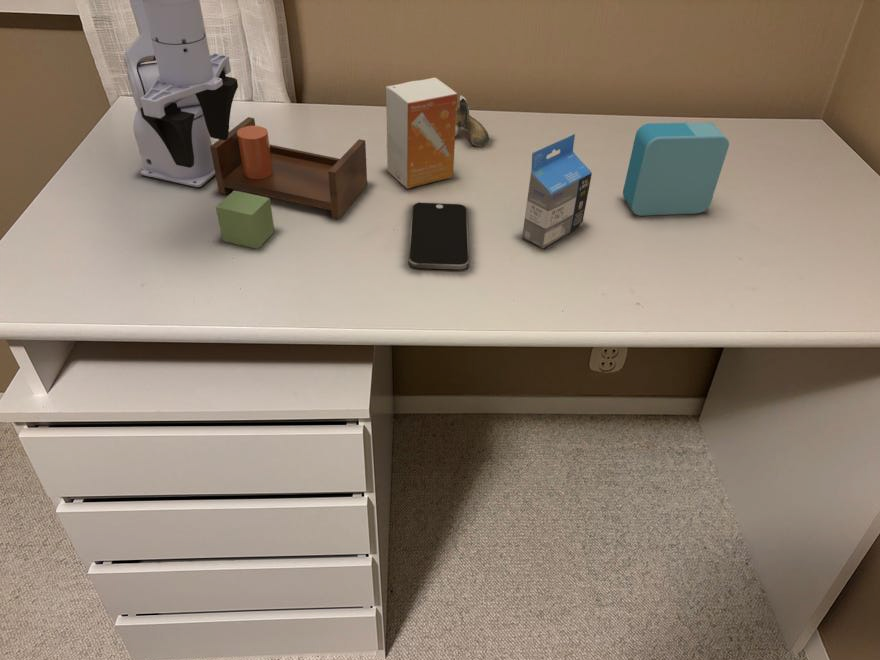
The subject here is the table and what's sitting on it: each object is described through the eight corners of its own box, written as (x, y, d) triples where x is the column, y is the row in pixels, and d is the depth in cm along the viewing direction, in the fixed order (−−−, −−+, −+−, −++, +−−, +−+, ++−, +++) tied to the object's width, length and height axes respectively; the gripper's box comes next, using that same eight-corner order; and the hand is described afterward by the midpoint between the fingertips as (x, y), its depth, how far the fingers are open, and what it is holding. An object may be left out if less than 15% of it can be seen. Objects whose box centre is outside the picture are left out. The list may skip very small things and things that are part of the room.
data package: (696, 197, 109) (719, 121, 101) (708, 213, 106) (732, 136, 98) (620, 200, 107) (637, 122, 99) (630, 216, 104) (648, 137, 96)
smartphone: (467, 203, 102) (469, 265, 91) (466, 208, 102) (469, 270, 91) (412, 201, 101) (407, 263, 90) (412, 206, 102) (407, 268, 91)
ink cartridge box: (542, 250, 96) (555, 164, 88) (520, 238, 98) (530, 153, 89) (583, 226, 101) (598, 143, 93) (561, 215, 103) (574, 132, 94)
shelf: (338, 219, 98) (335, 172, 93) (219, 193, 101) (209, 146, 96) (367, 185, 105) (365, 140, 101) (255, 161, 108) (248, 116, 104)
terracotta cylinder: (238, 176, 100) (230, 135, 96) (252, 163, 103) (246, 123, 99) (264, 182, 99) (258, 141, 95) (278, 169, 102) (273, 128, 98)
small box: (407, 190, 105) (406, 102, 96) (386, 171, 109) (384, 85, 100) (454, 178, 109) (458, 92, 100) (433, 159, 112) (435, 75, 103)
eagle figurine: (423, 127, 118) (459, 137, 112) (437, 83, 116) (475, 92, 111) (454, 142, 124) (491, 153, 118) (468, 101, 122) (506, 109, 117)
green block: (222, 241, 93) (215, 206, 89) (240, 223, 96) (234, 190, 92) (258, 249, 92) (252, 215, 88) (274, 231, 95) (269, 197, 92)
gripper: (172, 64, 73) (198, 184, 82) (245, 21, 84) (261, 132, 93) (111, 52, 74) (144, 173, 84) (191, 11, 85) (212, 122, 94)
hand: (202, 151), depth 88 cm, fingers open, 7 cm apart
